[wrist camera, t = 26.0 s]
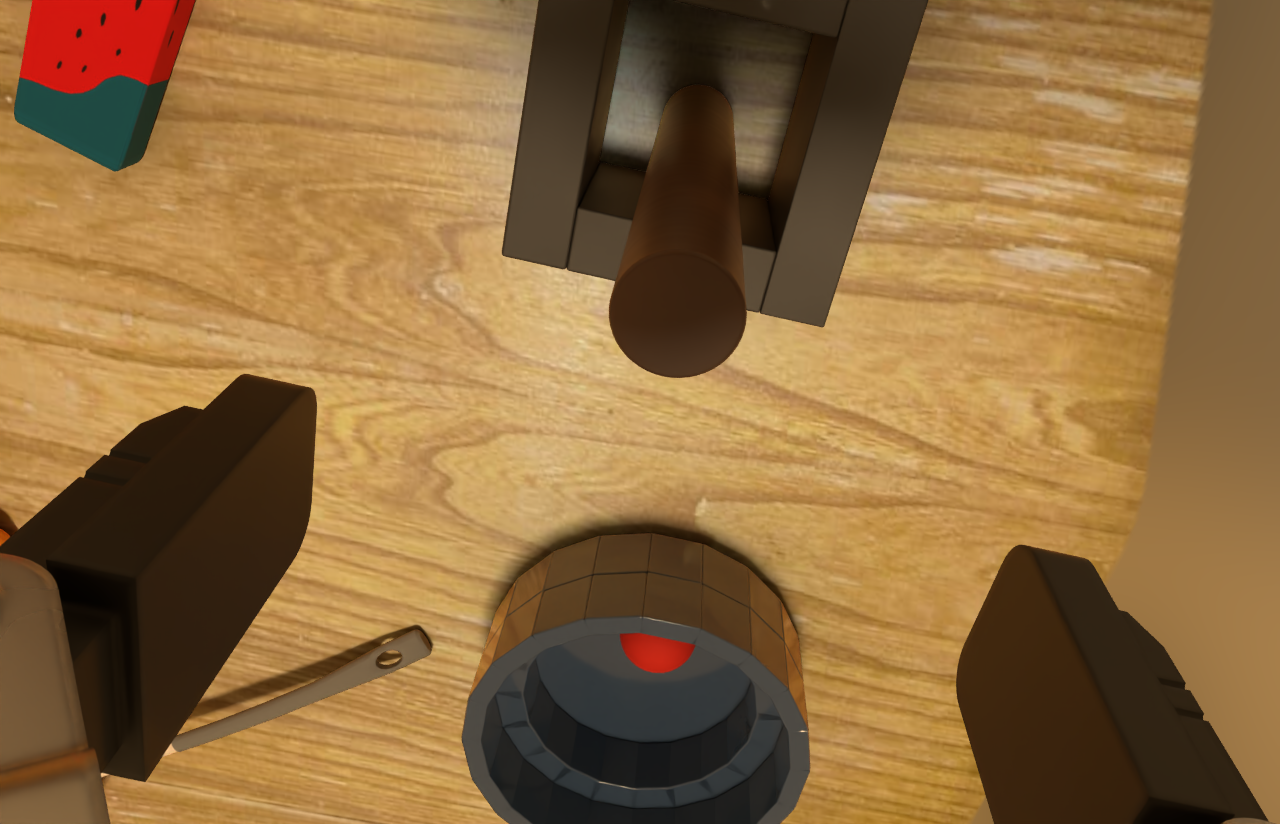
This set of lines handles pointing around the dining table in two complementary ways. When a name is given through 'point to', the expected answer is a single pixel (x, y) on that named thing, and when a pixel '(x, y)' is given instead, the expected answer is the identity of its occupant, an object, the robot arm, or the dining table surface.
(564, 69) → the holder
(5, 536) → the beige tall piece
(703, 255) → the stick
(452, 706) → the dining table surface
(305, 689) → the ladle
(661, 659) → the bead
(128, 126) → the popsicle
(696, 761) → the dark grey round dish
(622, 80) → the dining table surface
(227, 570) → the robot arm
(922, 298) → the dining table surface
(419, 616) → the dining table surface
